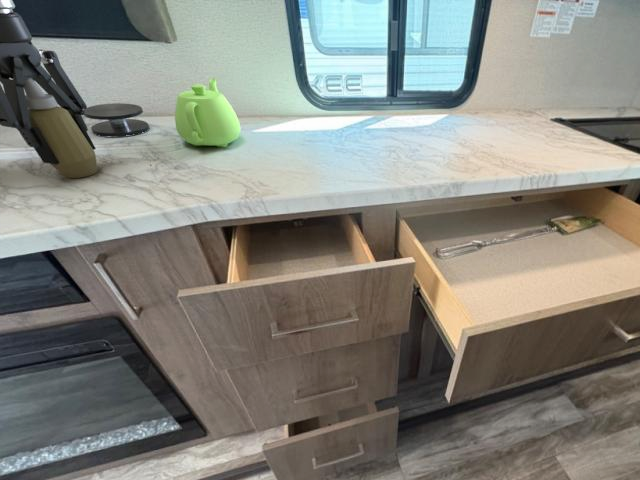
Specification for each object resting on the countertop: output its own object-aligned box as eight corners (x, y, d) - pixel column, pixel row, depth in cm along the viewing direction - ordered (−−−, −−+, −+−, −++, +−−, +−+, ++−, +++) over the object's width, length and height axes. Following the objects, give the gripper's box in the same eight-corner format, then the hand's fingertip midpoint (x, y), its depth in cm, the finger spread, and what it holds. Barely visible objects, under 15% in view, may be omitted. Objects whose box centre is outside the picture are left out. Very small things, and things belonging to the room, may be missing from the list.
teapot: (200, 126, 99) (184, 73, 90) (253, 129, 100) (242, 77, 92) (169, 152, 83) (145, 91, 74) (232, 155, 84) (216, 96, 76)
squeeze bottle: (109, 174, 72) (58, 75, 60) (63, 184, 67) (-4, 79, 55) (97, 163, 75) (46, 67, 63) (52, 171, 71) (-13, 70, 59)
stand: (80, 133, 88) (68, 112, 84) (118, 120, 97) (109, 101, 94) (126, 140, 87) (116, 118, 83) (160, 126, 96) (152, 106, 93)
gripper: (-70, 14, 45) (39, 177, 61) (65, 11, 61) (126, 142, 76) (-119, 8, 46) (2, 172, 61) (28, 6, 61) (95, 138, 77)
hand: (70, 155), depth 69 cm, fingers closed on squeeze bottle, 8 cm apart
